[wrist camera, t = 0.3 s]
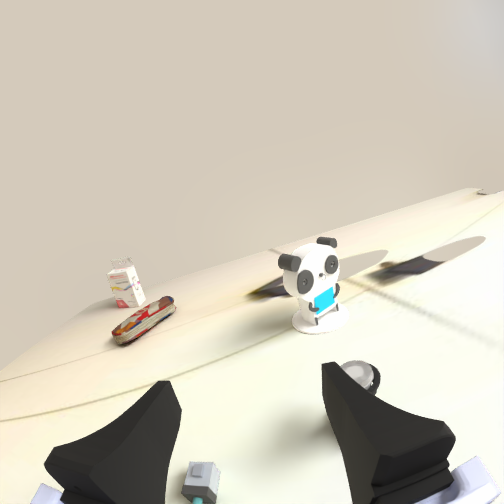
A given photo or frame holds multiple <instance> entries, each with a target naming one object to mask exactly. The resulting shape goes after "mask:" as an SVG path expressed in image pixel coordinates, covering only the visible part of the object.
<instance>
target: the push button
mask: <svg viewBox="0 0 504 504" xmlns="http://www.w3.org/2000/svg"><path fill="white" fill-rule="evenodd" d="M340 367H341V368H342V369H343V370H344V371H345V372H346V373H347V374H348V375H349V376H350V377H351V378H353V379H354V380H355V381H356V382H357V383H359V384H360V385H361V386H362V387H363V388H365V389H366V390H367V391H369V392H370V393H372V394H373V395H375V394H376V392H377V388H378V387H379V384H380V373H379V371H378V370H377V368H375V367H374V366H373V365H371V364H368V363H366V362H363V361H356V360H354V361H349V362H346V363H344V364H343V365H341V366H340ZM371 382H373V384H372V386H371Z"/></svg>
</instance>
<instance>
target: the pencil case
mask: <svg viewBox="0 0 504 504" xmlns="http://www.w3.org/2000/svg"><path fill="white" fill-rule="evenodd" d="M173 303H174V298H172V297H170V296H165V297H162V298H161V299H160V300H158V301H156V302H153V303H151V304H149V305H148V306H146V307H144V308H143V309H141V310H138V311H137V312H136V313H135V314H133V315H132V316H130V317H129V318H127V319H126V320H125V321H123V322H122V323H121V324H120V325H118V326H117V327H116V328H115V329H114V330H113V331H112V335H113V337H114V339H115V341H116V342H117V344H125V343H127V342H129V341H131V340H133V339H135V338H137V337H139V336H141V335H142V334H143V333H145V332H146V331H147V330H149V329H150V328H151V327H152V326H154V325H155V324H157V323H158V322H159V321H161V320H162V319H164V318H165V317H167V316H168V315H170V314H171V313H173V312H174V311H175V309H176V307H175V305H174V304H173Z"/></svg>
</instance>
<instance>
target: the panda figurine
mask: <svg viewBox="0 0 504 504" xmlns="http://www.w3.org/2000/svg"><path fill="white" fill-rule="evenodd" d="M336 247H337V241H336V239H335V238H326V237H319V238H318V239H317V244H314V243H309V244H306V245H303V246H301V247H299V248H297V249H296V250H295V251H293V252H292V253H291V255H288V254H282V255H281V256H280V257H279V259H278V266H279V267H280V268H281V269H284V273H283V284H284V288H285V289H286V291H287V292H288V293H289V294H290V295H292V296H294V297H297V298H298V302H299V306H300V310H298V311H297V312H296V313H295V314H294V315H293V317H292V325H293V327H294V328H295V329H296V330H298V331H300V332H302V333H306V334H323V333H328V332H331V331H334V330H336V329H338V328H340V327H341V326H343V325H344V324H345V323H346V321H347V320H348V317H349V312H348V310H347V308H346V307H345V306H343V305H341V304H339V303H338V302H337V295H338V293H339V290H340V287H339V285H338V283H336V282H337V279H338V275H339V260H338V257H337V254H336V252H335V250H334V248H336Z"/></svg>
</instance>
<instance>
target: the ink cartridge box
mask: <svg viewBox="0 0 504 504" xmlns="http://www.w3.org/2000/svg"><path fill="white" fill-rule="evenodd" d="M120 261H125V263H123V264H119V262H120ZM111 262H112V264H113V266H114V270H112V271H111V272H109V273H108V274H107V277H108V280H109V283H110V286H111V288H112V291H113V294H114V296H115V299H116V301H117V304H118V306H119V308H126V307H139V306H140V305H141V304H142V303H143V302H144V301H145V300H146V299H145V296H144V293H143V291H142V288H141V285H140V282H139V280H138V277H137V274H136V271H135V268H134V266H133V264H132V261H131V258H130V257H125V258H120V259H115V260H112V261H111Z"/></svg>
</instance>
